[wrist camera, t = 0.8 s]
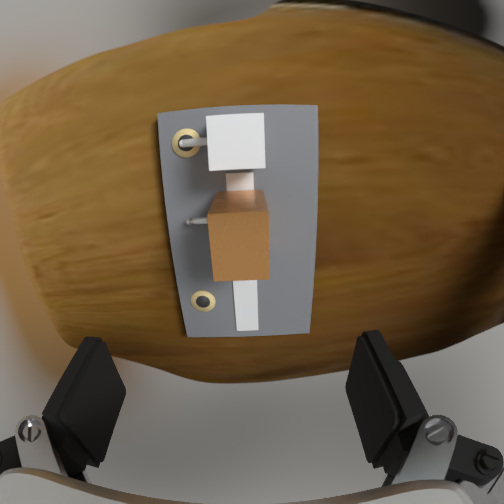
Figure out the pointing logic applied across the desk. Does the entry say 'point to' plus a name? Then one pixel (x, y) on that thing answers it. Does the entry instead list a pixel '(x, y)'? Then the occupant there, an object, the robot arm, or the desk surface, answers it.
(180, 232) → the slide rail plate
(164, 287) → the desk surface
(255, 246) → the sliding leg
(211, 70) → the desk surface
